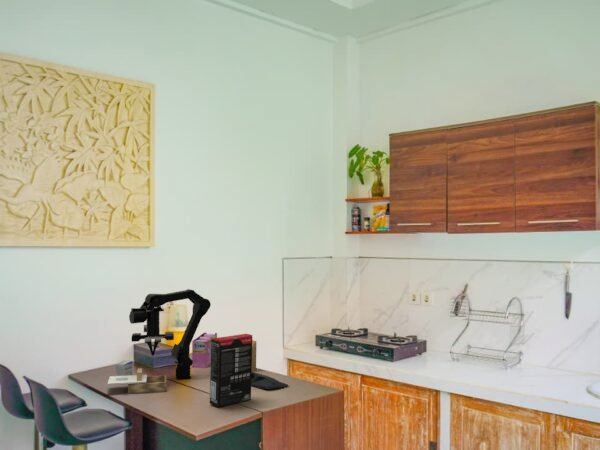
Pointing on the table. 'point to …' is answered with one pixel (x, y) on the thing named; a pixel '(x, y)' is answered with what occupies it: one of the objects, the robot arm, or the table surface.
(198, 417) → the table surface
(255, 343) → the sandwich container
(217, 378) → the graphics card box
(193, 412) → the table surface
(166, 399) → the table surface
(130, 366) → the medicine box
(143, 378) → the lid
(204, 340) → the gum box
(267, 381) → the dark slate chunk
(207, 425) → the table surface
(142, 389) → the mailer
